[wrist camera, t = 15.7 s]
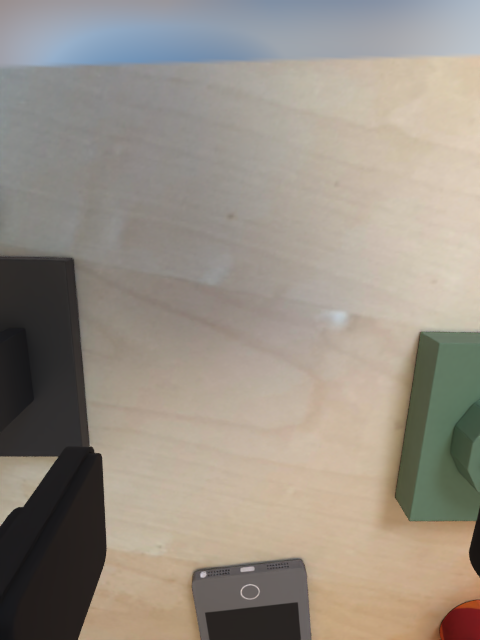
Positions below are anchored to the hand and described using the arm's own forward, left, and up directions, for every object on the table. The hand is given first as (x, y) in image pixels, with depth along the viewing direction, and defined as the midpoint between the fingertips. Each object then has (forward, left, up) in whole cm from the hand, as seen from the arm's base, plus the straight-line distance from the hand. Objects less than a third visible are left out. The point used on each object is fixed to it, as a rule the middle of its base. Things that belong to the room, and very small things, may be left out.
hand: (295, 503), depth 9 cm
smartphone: (+25, +1, -15) cm, 29 cm away
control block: (+6, +15, -15) cm, 22 cm away
